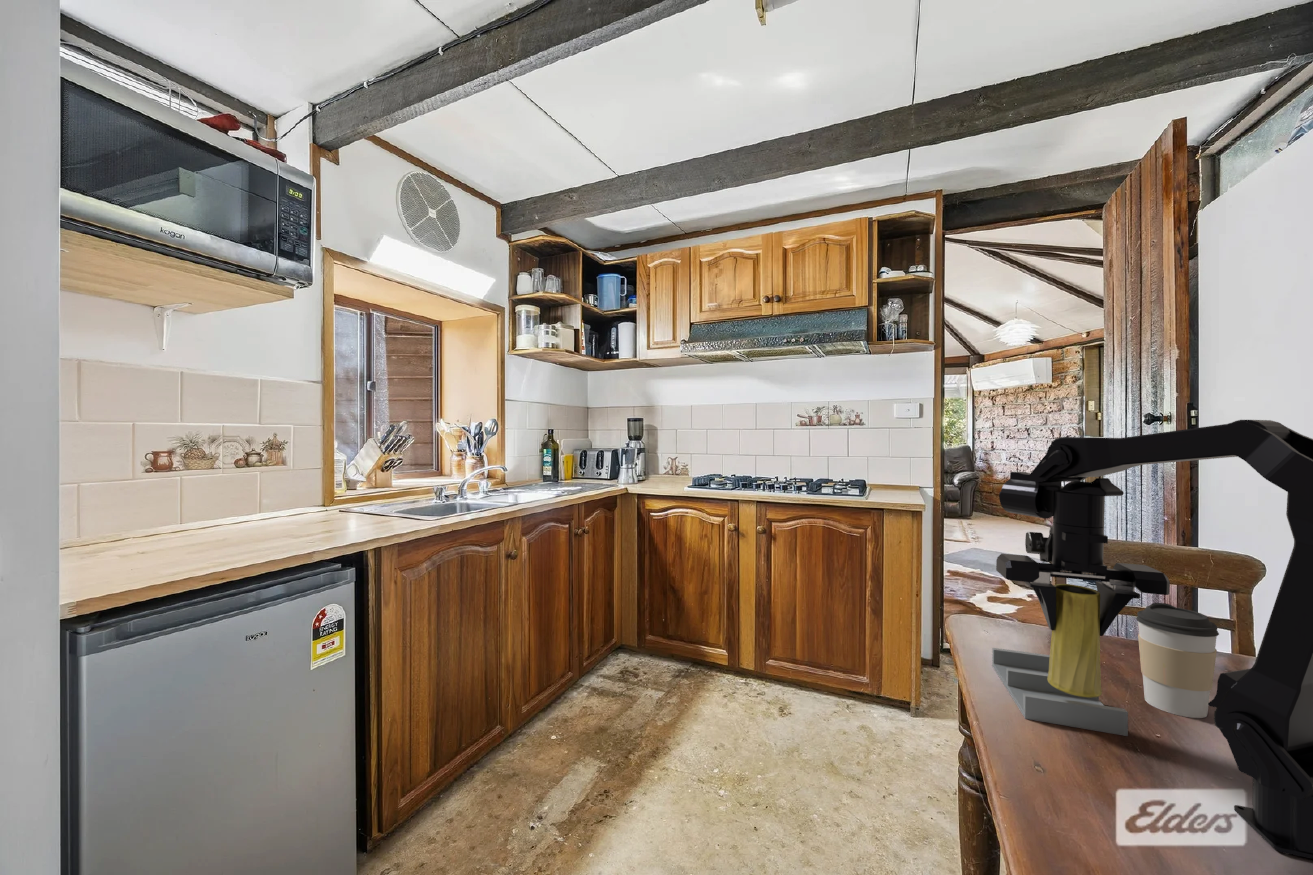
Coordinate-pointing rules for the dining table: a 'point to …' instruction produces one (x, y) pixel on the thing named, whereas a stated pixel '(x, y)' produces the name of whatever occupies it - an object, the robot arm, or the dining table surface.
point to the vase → (1076, 642)
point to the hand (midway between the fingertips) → (1075, 632)
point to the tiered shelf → (1052, 695)
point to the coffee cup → (1177, 659)
